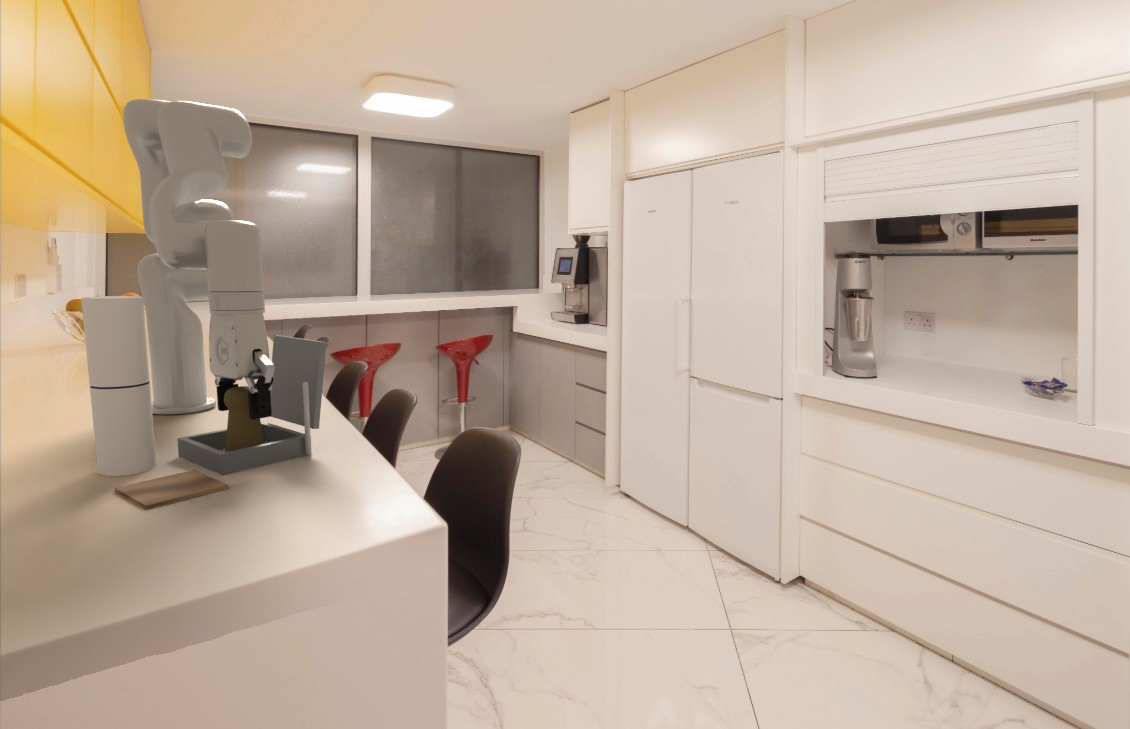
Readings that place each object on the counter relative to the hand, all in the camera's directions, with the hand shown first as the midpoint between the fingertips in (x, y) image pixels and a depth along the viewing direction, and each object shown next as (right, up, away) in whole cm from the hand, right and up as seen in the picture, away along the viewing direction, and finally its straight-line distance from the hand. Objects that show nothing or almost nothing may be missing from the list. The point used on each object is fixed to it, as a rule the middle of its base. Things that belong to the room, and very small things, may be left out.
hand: (244, 413), depth 101 cm
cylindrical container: (-14, -8, -6) cm, 17 cm away
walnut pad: (-2, -9, -14) cm, 17 cm away
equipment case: (0, -7, +1) cm, 7 cm away
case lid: (+5, +5, +6) cm, 10 cm away
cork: (0, -7, +1) cm, 7 cm away
